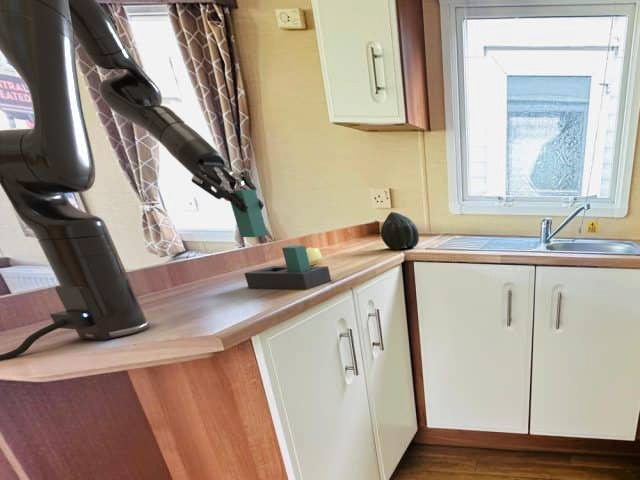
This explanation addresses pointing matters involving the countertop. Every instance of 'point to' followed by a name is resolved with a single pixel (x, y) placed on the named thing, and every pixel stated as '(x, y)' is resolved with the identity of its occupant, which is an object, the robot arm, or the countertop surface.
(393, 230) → the squash
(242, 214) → the green block
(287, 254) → the block
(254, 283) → the mount
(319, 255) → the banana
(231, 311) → the countertop surface
